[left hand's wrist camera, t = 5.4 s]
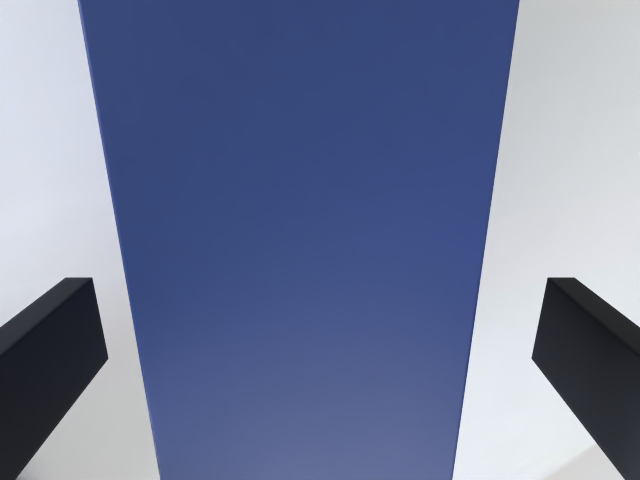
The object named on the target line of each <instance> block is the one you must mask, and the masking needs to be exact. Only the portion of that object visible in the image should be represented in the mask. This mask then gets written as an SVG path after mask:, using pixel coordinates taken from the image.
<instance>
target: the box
mask: <svg viewBox="0 0 640 480" xmlns="http://www.w3.org/2000/svg"><path fill="white" fill-rule="evenodd" d="M78 6H79V12H80V18H81V23H82V29H83V35H84V41H85V47H86V52H87V58H88V64H89V70H90V75H91V81H92V87H93V93H94V99H95V104H96V110H97V116H98V122H99V127H100V133H101V139H102V145H103V151H104V156H105V162H106V168H107V174H108V179H109V185H110V191H111V197H112V203H113V208H114V214H115V220H116V226H117V231H118V237H119V243H120V249H121V255H122V260H123V266H124V272H125V278H126V283H127V289H128V295H129V301H130V306H131V312H132V318H133V324H134V330H135V335H136V341H137V347H138V353H139V358H140V364H141V370H142V376H143V382H144V387H145V393H146V399H147V405H148V410H149V416H150V422H151V428H152V434H153V439H154V445H155V451H156V457H157V462H158V468H159V474H160V480H452V477H453V470H454V463H455V456H456V449H457V442H458V435H459V428H460V420H461V413H462V406H463V399H464V392H465V385H466V378H467V371H468V363H469V356H470V349H471V342H472V335H473V328H474V321H475V314H476V306H477V299H478V292H479V285H480V278H481V271H482V264H483V257H484V249H485V242H486V235H487V228H488V221H489V214H490V207H491V200H492V192H493V185H494V178H495V171H496V164H497V157H498V150H499V143H500V135H501V128H502V121H503V114H504V107H505V100H506V93H507V86H508V78H509V71H510V64H511V57H512V50H513V43H514V36H515V29H516V22H517V14H518V7H519V0H78Z"/></svg>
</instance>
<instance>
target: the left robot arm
mask: <svg viewBox="0 0 640 480" xmlns="http://www.w3.org/2000/svg"><path fill="white" fill-rule="evenodd" d="M107 360H108V354H107V349H106V344H105V339H104V334H103V329H102V324H101V319H100V314H99V309H98V304H97V299H96V294H95V289H94V284H93V279H92V278H64V279H63V280H62V281H61V282H59V283H58V284H57V285H55V286H54V287H53V288H51V289H50V290H49V291H47V292H46V293H45V294H44V295H42V296H41V297H40V298H38V299H37V300H36V301H34V302H33V303H32V304H30V305H29V306H28V307H26V308H25V309H24V310H23V311H21V312H20V313H19V314H17V315H16V316H15V317H13V318H12V319H11V320H9V321H8V322H7V323H5V324H4V325H3V326H2V327H0V480H15V479H16V478H17V477H18V475H19V474H20V473H21V471H22V470H23V469H24V467H25V466H26V465H27V464H28V462H29V461H30V460H31V458H32V457H33V456H34V454H35V453H36V452H37V451H38V449H39V448H40V447H41V445H42V444H43V443H44V441H45V440H46V439H47V438H48V436H49V435H50V434H51V432H52V431H53V430H54V428H55V427H56V426H57V425H58V423H59V422H60V421H61V419H62V418H63V417H64V415H65V414H66V413H67V412H68V410H69V409H70V408H71V406H72V405H73V404H74V403H75V401H76V400H77V399H78V397H79V396H80V395H81V393H82V392H83V391H84V390H85V388H86V387H87V386H88V384H89V383H90V382H91V380H92V379H93V378H94V377H95V375H96V374H97V373H98V371H99V370H100V369H101V367H102V366H103V365H104V364H105V362H106V361H107ZM532 360H533V361H534V362H535V364H536V365H537V366H538V367H539V369H540V370H541V371H542V373H543V374H544V375H545V377H546V378H547V379H548V380H549V382H550V383H551V384H552V386H553V387H554V388H555V390H556V391H557V392H558V393H559V395H560V396H561V397H562V399H563V400H564V401H565V403H566V404H567V405H568V406H569V408H570V409H571V410H572V412H573V413H574V414H575V415H576V417H577V418H578V419H579V421H580V422H581V423H582V425H583V426H584V427H585V428H586V430H587V431H588V432H589V434H590V435H591V436H592V438H593V439H594V440H595V441H596V443H597V444H598V445H599V447H600V448H601V449H602V451H603V452H604V453H605V454H606V456H607V457H608V458H609V460H610V461H611V462H612V464H613V465H614V466H615V467H616V469H617V470H618V471H619V473H620V474H621V475H622V476H623V478H624V479H625V480H640V327H638V326H637V325H636V324H635V323H633V322H632V321H631V320H629V319H628V318H627V317H625V316H624V315H623V314H621V313H620V312H619V311H617V310H616V309H615V308H614V307H612V306H611V305H610V304H608V303H607V302H606V301H604V300H603V299H602V298H600V297H599V296H598V295H596V294H595V293H594V292H593V291H591V290H590V289H589V288H587V287H586V286H585V285H583V284H582V283H581V282H579V281H578V280H577V279H576V278H548V279H547V284H546V289H545V294H544V299H543V304H542V309H541V314H540V319H539V324H538V329H537V334H536V339H535V344H534V349H533V354H532Z"/></svg>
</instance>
